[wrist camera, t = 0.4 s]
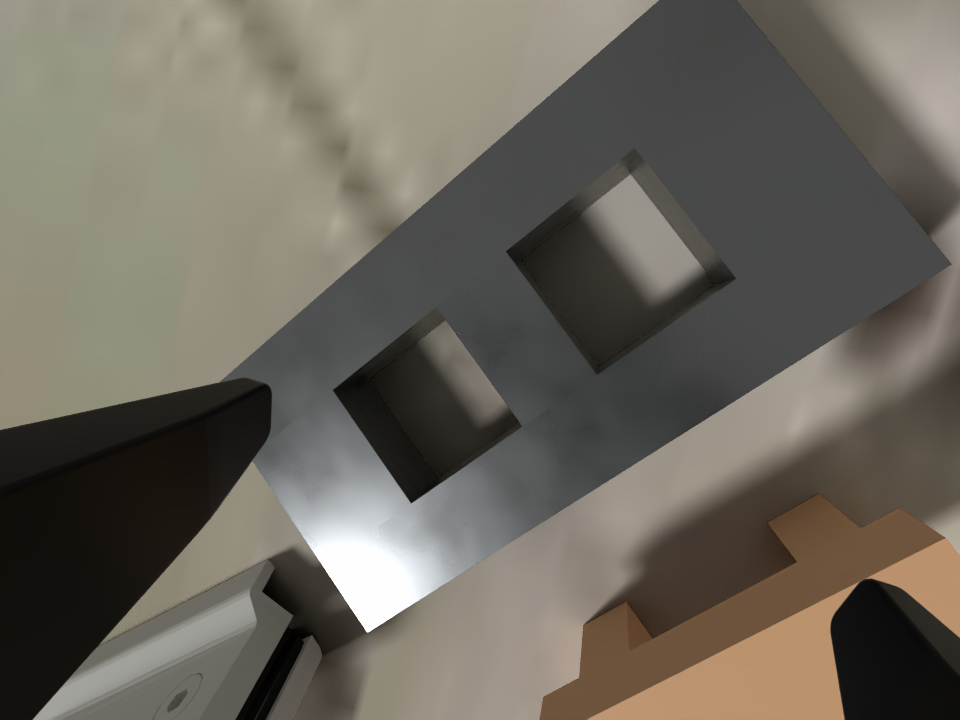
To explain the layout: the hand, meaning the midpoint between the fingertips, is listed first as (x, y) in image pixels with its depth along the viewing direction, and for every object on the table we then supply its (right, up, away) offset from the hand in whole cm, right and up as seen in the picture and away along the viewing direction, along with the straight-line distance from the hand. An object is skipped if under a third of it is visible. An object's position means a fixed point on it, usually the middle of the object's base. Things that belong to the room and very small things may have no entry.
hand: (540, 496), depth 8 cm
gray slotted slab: (+1, +3, +12) cm, 13 cm away
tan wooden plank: (+8, -7, +12) cm, 16 cm away
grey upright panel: (-15, -14, +18) cm, 28 cm away
